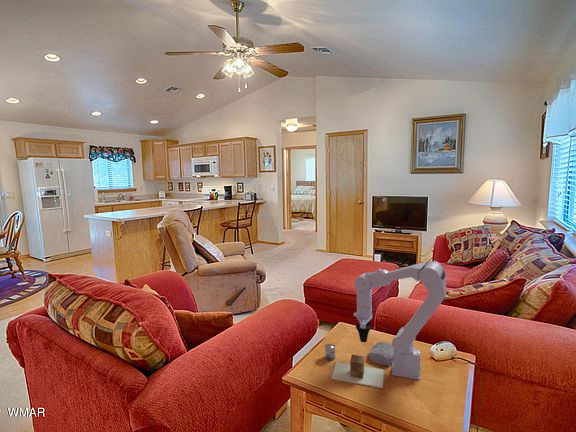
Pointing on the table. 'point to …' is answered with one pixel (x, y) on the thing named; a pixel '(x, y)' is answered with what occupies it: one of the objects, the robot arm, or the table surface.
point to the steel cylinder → (330, 352)
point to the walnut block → (357, 366)
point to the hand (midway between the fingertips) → (364, 336)
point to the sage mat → (370, 378)
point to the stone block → (382, 353)
